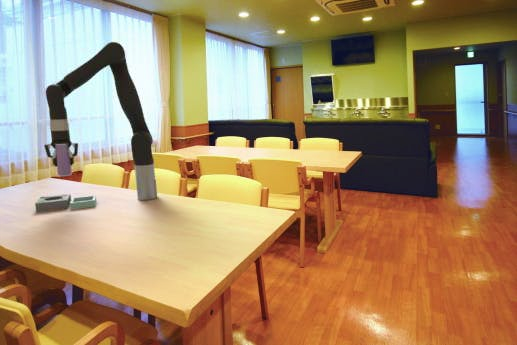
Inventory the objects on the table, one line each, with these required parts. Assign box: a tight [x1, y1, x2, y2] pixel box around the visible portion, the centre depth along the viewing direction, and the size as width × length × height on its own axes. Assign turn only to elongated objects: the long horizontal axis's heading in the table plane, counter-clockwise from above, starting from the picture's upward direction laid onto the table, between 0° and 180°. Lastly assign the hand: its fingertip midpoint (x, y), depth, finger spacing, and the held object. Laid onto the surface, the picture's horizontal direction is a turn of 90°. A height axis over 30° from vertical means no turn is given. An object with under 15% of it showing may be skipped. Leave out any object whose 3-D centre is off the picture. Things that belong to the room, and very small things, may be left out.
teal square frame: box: [69, 194, 97, 210], centre depth 174 cm, size 10×10×3 cm
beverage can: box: [55, 143, 73, 177], centre depth 169 cm, size 6×6×15 cm
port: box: [34, 193, 72, 213], centre depth 173 cm, size 13×13×4 cm
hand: (63, 165), depth 170 cm, fingers closed on beverage can, 5 cm apart
